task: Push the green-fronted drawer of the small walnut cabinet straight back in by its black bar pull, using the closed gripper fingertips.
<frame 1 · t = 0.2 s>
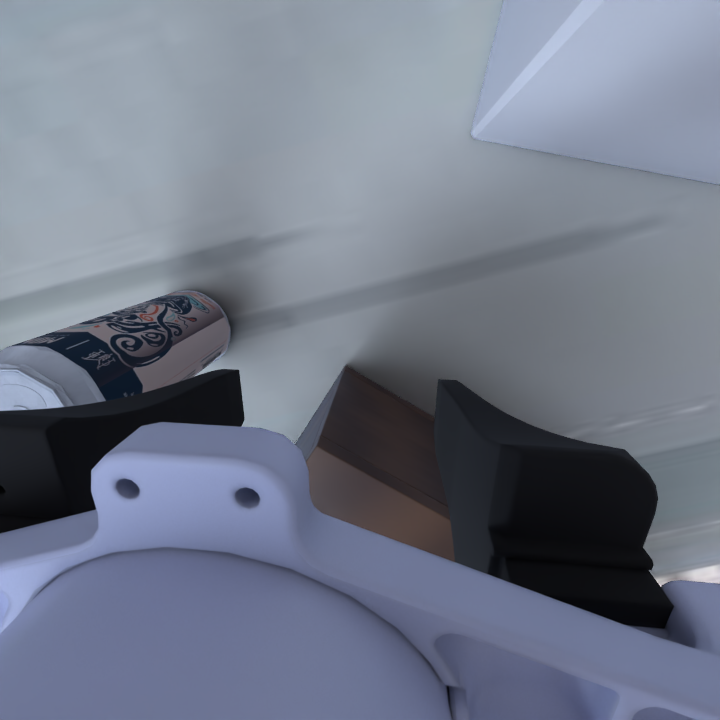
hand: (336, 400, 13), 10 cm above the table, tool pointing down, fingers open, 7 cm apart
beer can: (199, 325, 24), on the table
cabinet: (383, 482, 27), on the table
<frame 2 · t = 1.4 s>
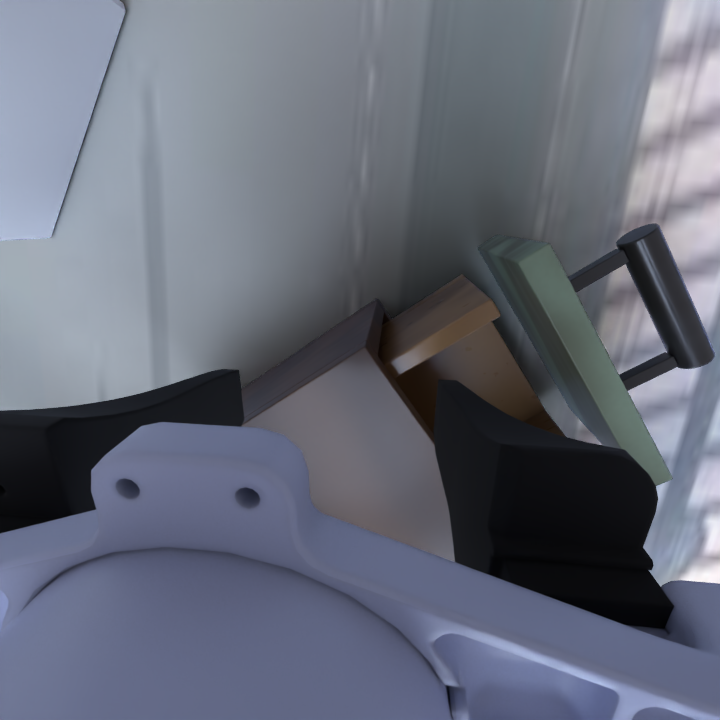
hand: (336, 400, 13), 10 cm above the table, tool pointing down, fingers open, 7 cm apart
green-fronted drawer: (497, 384, 19), point 5 cm above the table, slide at 6.0 cm
cabinet: (346, 429, 26), on the table
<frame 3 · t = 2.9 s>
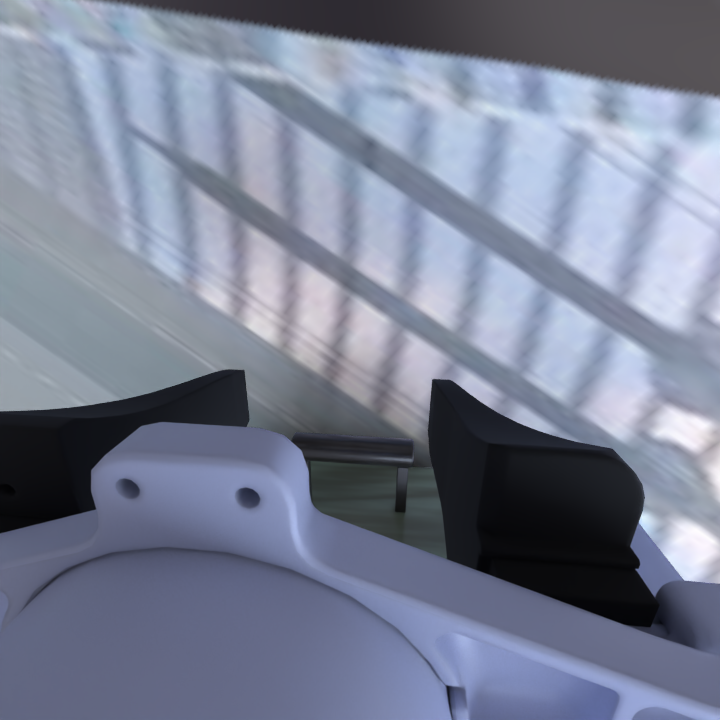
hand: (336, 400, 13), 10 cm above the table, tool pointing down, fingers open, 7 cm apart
green-fronted drawer: (353, 550, 24), point 5 cm above the table, slide at 6.0 cm
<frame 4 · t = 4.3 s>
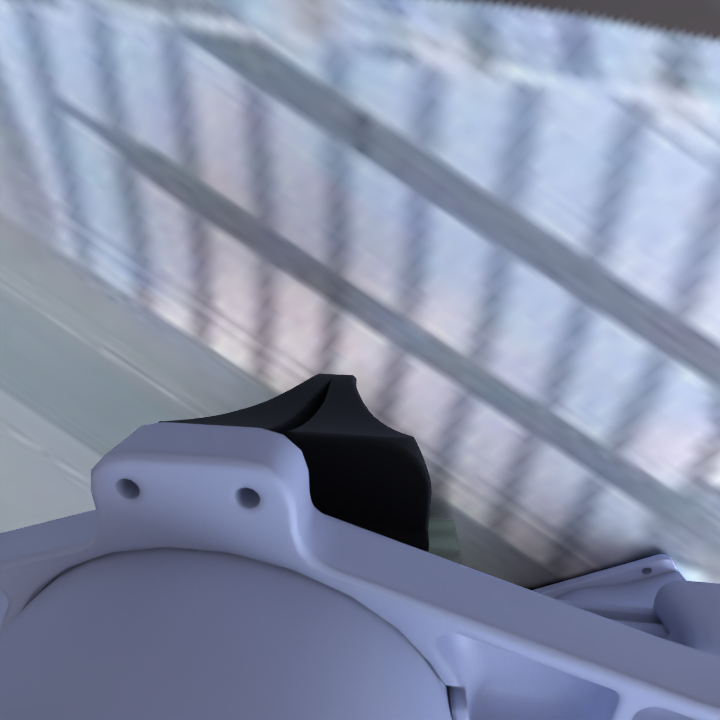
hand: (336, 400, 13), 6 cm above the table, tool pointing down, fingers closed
green-fronted drawer: (343, 624, 19), point 5 cm above the table, slide at 6.0 cm
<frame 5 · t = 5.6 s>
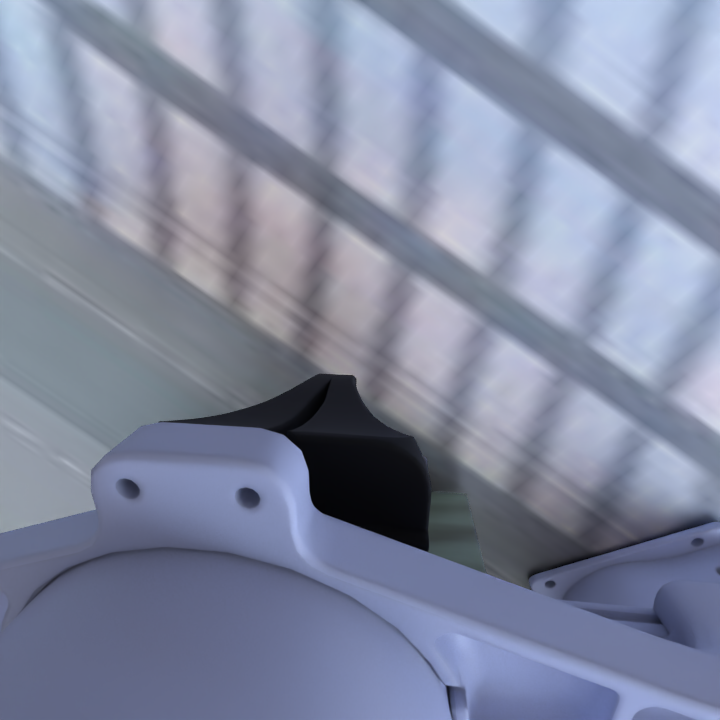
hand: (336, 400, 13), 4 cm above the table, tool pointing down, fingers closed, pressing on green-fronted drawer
green-fronted drawer: (335, 616, 16), point 5 cm above the table, slide at 5.3 cm, touching gripper
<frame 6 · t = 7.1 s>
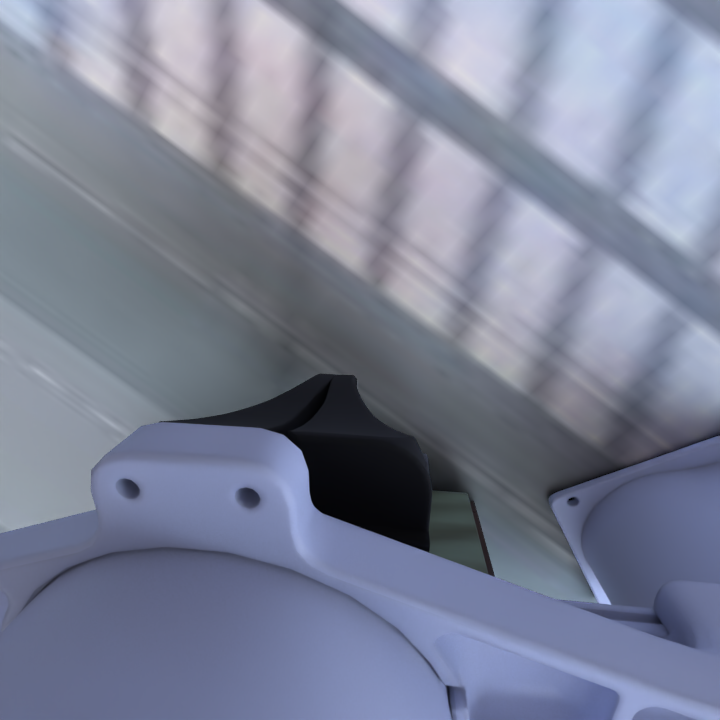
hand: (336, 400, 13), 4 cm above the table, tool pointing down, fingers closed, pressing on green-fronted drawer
green-fronted drawer: (336, 616, 16), point 5 cm above the table, slide at 0.0 cm, touching cabinet, gripper
cabinet: (349, 588, 22), on the table
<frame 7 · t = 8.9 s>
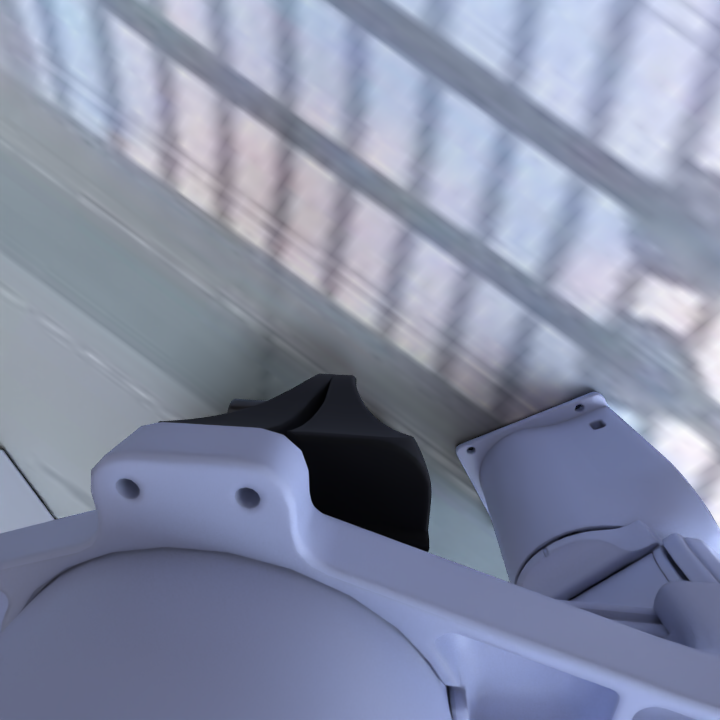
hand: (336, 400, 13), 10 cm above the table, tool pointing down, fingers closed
green-fronted drawer: (299, 524, 23), point 5 cm above the table, slide at 0.0 cm
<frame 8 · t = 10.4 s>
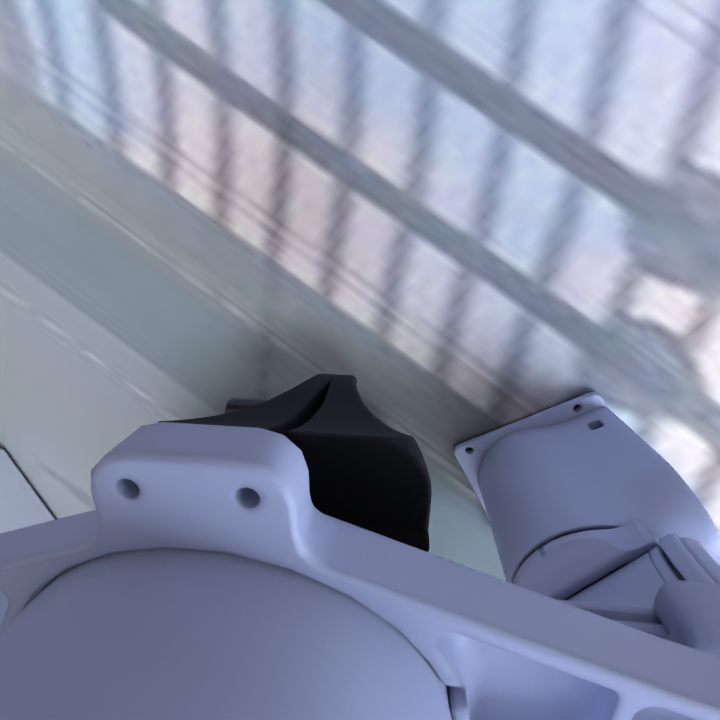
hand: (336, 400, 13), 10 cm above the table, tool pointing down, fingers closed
green-fronted drawer: (297, 524, 23), point 5 cm above the table, slide at 0.0 cm
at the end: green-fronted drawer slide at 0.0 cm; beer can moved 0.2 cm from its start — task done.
